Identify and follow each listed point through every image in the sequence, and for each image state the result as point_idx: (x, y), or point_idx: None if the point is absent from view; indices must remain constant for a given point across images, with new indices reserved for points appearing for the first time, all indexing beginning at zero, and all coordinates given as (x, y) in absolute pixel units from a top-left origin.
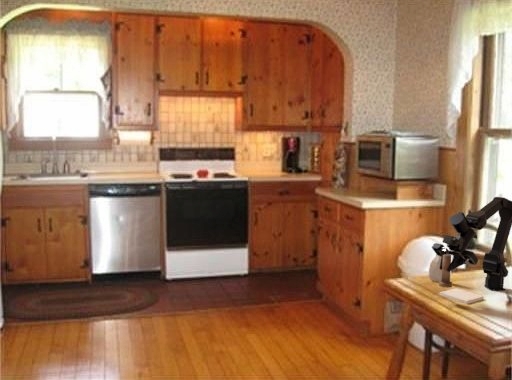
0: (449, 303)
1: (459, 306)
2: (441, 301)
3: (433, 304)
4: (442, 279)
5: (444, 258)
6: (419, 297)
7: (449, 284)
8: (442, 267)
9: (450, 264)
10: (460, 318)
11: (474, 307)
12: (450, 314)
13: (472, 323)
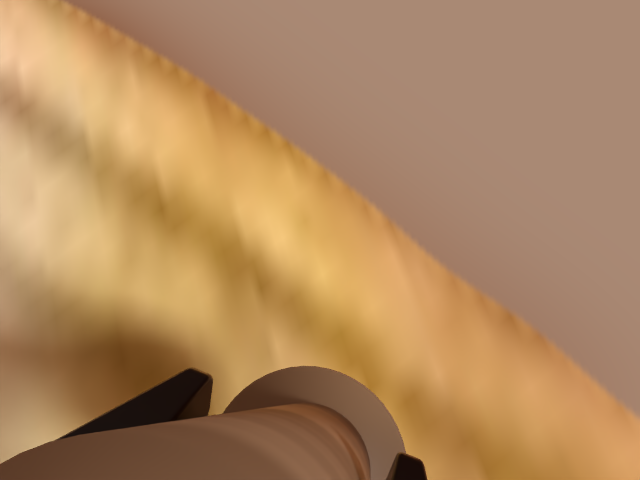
0: None
1: None
2: None
3: (390, 282)
4: (338, 417)
5: (223, 427)
6: (596, 414)
7: (229, 405)
8: (341, 451)
9: None
10: (102, 91)
11: None
12: (188, 126)
13: (10, 49)
